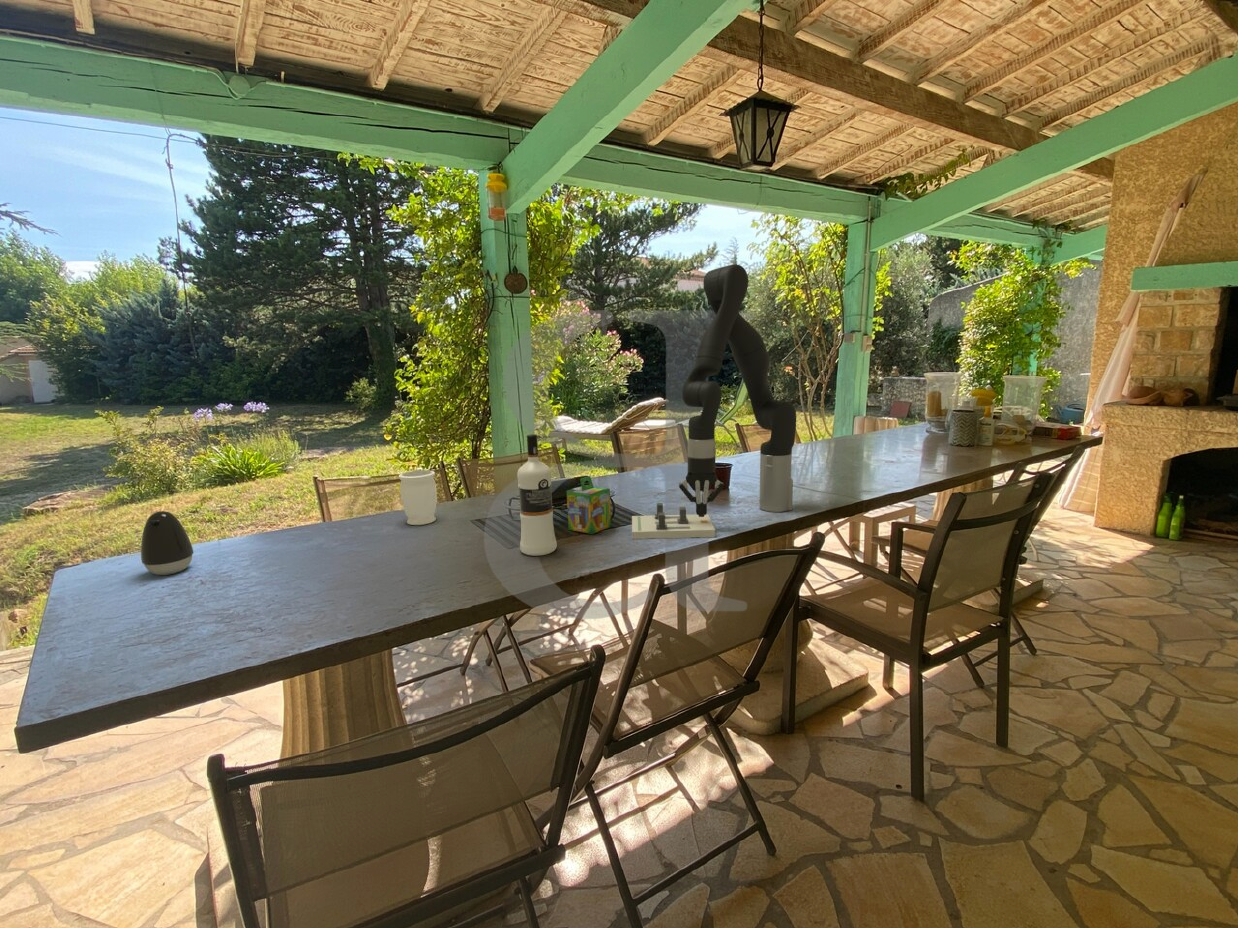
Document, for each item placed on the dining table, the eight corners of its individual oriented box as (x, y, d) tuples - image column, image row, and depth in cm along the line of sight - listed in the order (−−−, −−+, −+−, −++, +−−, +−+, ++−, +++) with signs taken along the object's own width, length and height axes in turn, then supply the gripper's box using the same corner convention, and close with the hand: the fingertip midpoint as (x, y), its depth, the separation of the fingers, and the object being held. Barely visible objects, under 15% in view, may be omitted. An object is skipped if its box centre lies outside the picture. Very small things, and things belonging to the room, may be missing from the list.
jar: (432, 526, 179) (428, 476, 176) (398, 527, 180) (393, 477, 177) (443, 516, 190) (439, 469, 187) (410, 517, 190) (406, 470, 187)
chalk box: (592, 535, 166) (589, 482, 163) (567, 530, 172) (564, 479, 169) (612, 526, 174) (611, 476, 171) (588, 522, 179) (586, 472, 176)
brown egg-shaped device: (135, 581, 142) (123, 519, 139) (156, 566, 152) (144, 508, 149) (185, 576, 145) (174, 515, 142) (202, 561, 155) (192, 504, 152)
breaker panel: (707, 520, 176) (707, 513, 176) (715, 537, 162) (715, 529, 161) (632, 522, 177) (631, 515, 176) (632, 539, 162) (632, 531, 162)
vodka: (546, 542, 162) (540, 430, 156) (563, 551, 154) (557, 434, 148) (514, 549, 157) (506, 434, 151) (530, 559, 149) (522, 438, 143)
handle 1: (664, 514, 175) (664, 502, 175) (665, 518, 172) (664, 505, 171) (654, 515, 175) (654, 502, 175) (655, 518, 172) (655, 505, 171)
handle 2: (666, 525, 165) (666, 512, 165) (667, 528, 162) (667, 515, 162) (656, 525, 166) (656, 512, 165) (656, 528, 162) (656, 515, 162)
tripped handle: (687, 519, 170) (687, 506, 169) (688, 522, 167) (688, 509, 166) (677, 519, 170) (677, 506, 170) (678, 522, 167) (678, 510, 166)
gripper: (723, 451, 168) (723, 512, 172) (676, 452, 169) (676, 512, 172) (728, 456, 161) (727, 519, 164) (678, 457, 161) (678, 520, 165)
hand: (701, 516), depth 168 cm, fingers closed
